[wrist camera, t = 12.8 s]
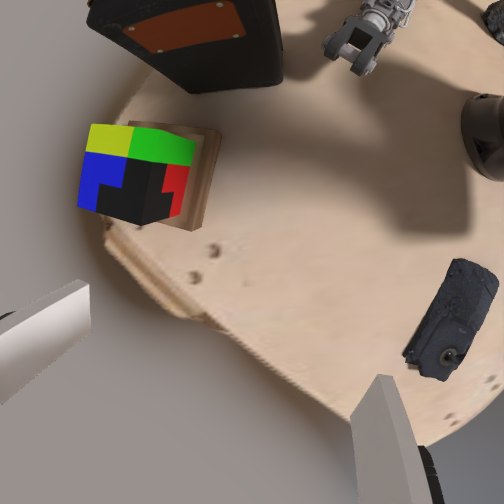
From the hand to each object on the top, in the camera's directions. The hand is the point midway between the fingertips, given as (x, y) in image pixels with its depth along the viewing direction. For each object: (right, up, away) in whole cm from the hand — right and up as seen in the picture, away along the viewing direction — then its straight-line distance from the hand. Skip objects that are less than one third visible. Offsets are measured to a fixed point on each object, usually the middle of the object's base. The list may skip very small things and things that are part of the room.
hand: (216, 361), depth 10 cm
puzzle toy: (-12, +16, +25) cm, 32 cm away
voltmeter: (-1, +32, +24) cm, 40 cm away
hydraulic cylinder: (+23, +43, +17) cm, 51 cm away
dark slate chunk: (+38, -8, +27) cm, 47 cm away
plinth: (-11, +17, +29) cm, 35 cm away
